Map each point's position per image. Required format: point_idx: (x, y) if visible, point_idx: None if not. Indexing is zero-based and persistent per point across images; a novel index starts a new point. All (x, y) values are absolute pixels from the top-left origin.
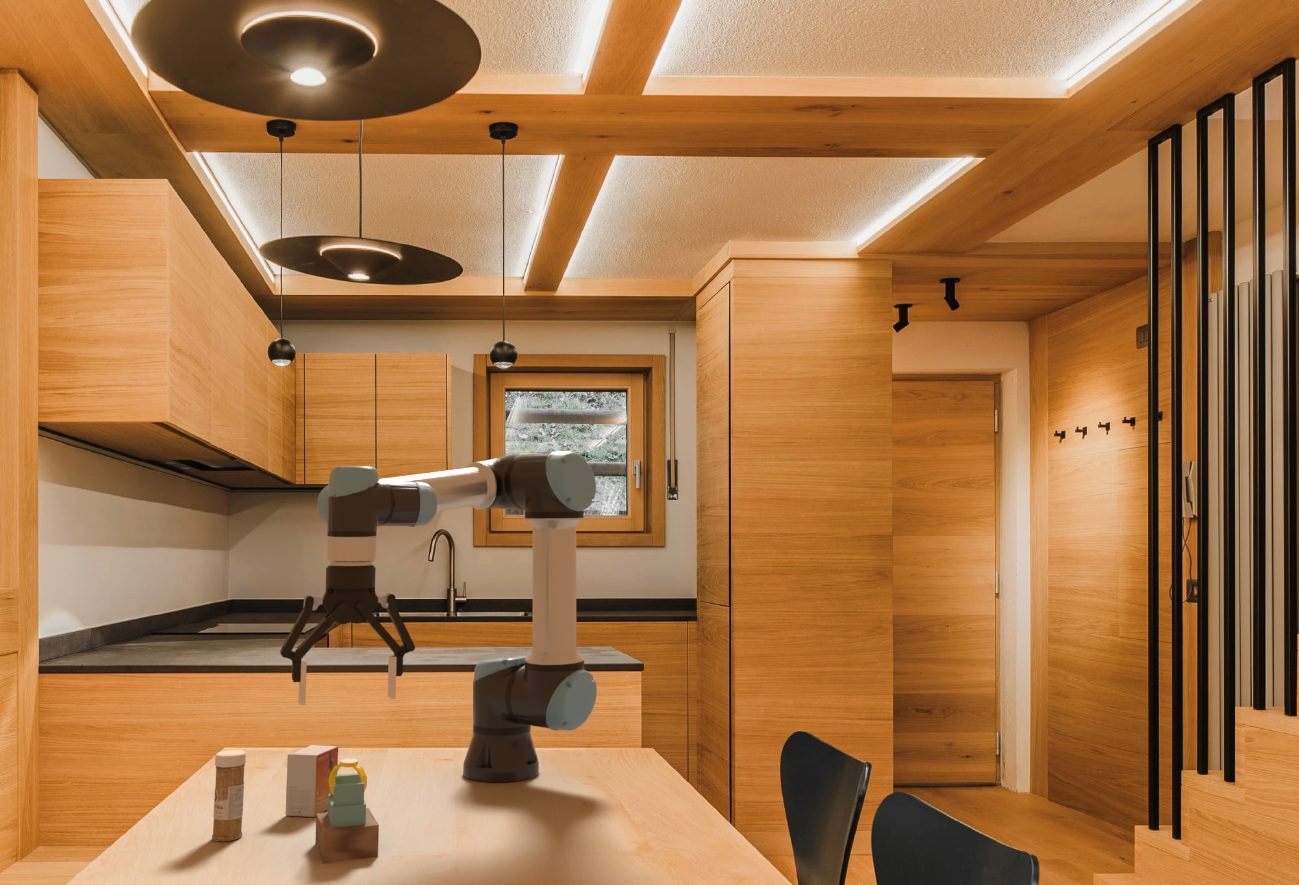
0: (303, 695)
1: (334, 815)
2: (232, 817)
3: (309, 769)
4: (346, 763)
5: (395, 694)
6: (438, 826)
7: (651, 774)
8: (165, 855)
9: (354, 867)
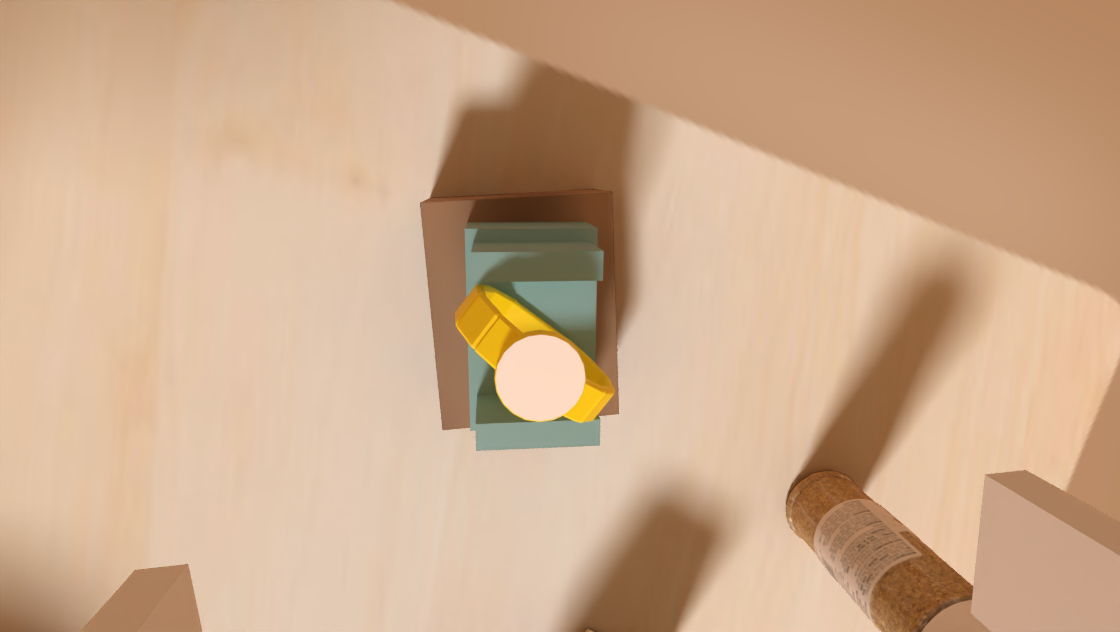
0: (1078, 513)
1: (581, 225)
2: (847, 504)
3: None
4: (556, 336)
5: (112, 598)
6: (215, 450)
7: None
8: (969, 402)
9: (506, 119)
